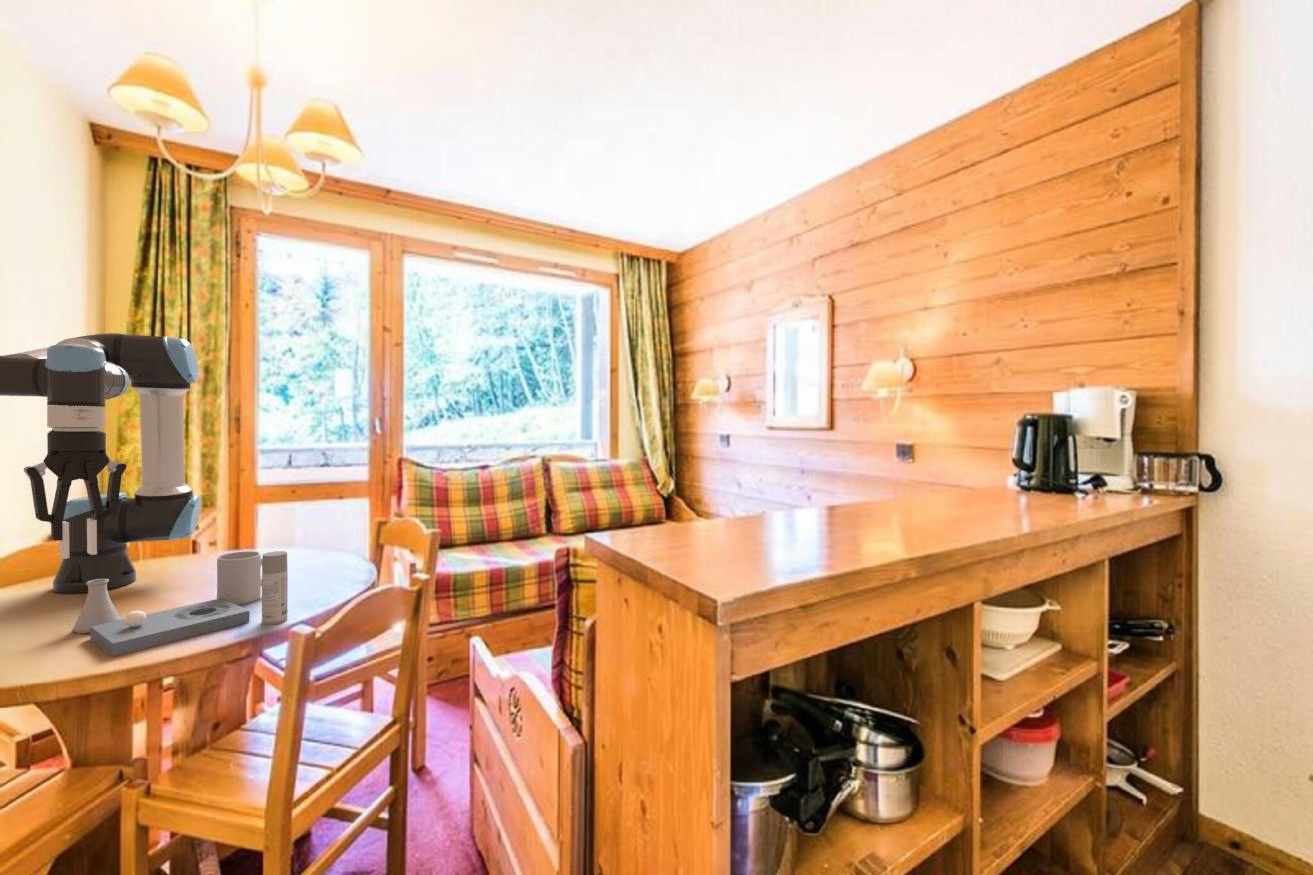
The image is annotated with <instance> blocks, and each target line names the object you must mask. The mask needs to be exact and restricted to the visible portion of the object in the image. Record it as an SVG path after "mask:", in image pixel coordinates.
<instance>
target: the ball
mask: <svg viewBox="0 0 1313 875" xmlns="http://www.w3.org/2000/svg"><path fill="white" fill-rule="evenodd" d="M146 614H147V613H145V612H144V611H143V610H132V611H130V612H129V613H128V614H127V615H126V616H125V618H124V619H125V624H126V625H127V626H129V627H138V626H141V625H142V624H143V623H144V622H145V621H146Z"/></svg>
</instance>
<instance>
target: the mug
mask: <svg viewBox="0 0 1313 875" xmlns="http://www.w3.org/2000/svg"><path fill="white" fill-rule="evenodd" d="M262 561H263V557H261V553H260V552H258V551H250V550H249V551H234V552H230V553H229V552H228V553H225V554H221V555H220V556H217V559H216V599H220V598H223V599H226V600H228V601H230V602H232V603H234V604H236V605H238V606H241V605H247V604H250V603H254V602H256V601H258V600H260V598H261V597H262V575H261V571H262Z"/></svg>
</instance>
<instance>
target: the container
mask: <svg viewBox="0 0 1313 875" xmlns="http://www.w3.org/2000/svg"><path fill="white" fill-rule="evenodd" d="M262 558H263V561H262V566H261V579H262V586H261V623H262V624H263V625H266V626H267V625H268V626H269V625H272V626H273V625H278V624H282V623H284V622H286V621H287V620H288V603H289V602H288V594H289V593H288V578H289V577H288V575H289V574H288V552H287V551H282V550H278V551H277V550H275V551H270V552H265V553H263V554H262Z"/></svg>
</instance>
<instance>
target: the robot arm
mask: <svg viewBox="0 0 1313 875" xmlns="http://www.w3.org/2000/svg"><path fill="white" fill-rule="evenodd" d="M198 380H199V365H198V360H197V356H196V353H195V351H194V348H193V346H192V345H191V343H190V342H189V341H187V340H186V339H183V338H178V337H171V336H165V335H164V336H159V335H158V336H156V335H145V334H128V333H127V334H125V333H114V332H113V333H112V332H107V333H106V332H105V333H96V334H88V335H81V336H76V337H68V338H65V339H63V340H61V341H59V342H56V344H53V345H50V346H49V347H43V348H37V349H32V350H28V351H27V350H26V351H22V352H18V353H12V354H6V355H0V396H6V397H14V396H15V397H42V398H43V397H44V398H46V401H47V402H46V405H47V408H46V426H47V427H48V428H50V429H51V430H49V431H48V432H47V436H46V438H47V439H46V440H47V443H46V444H47V454H46V456H45V458H44V459H43V462H40V463H37V464H35V465H31V466H28V465H27V466H25V467H24V468H23V471H24V473H25V474H26V476H27V477H28V478H29V481H30V488H31V493H32V500H33V507H34V514H35V519H36V520H39V521H41V522H47V523H50V533H51V534H50V538H51V540H53V541H54V542H57V541H59V557H60V558H61V559H62V560H61V561H60V565H59V567H58V570H57V572H56V574H55V576H54V579H53V581H52V591H53V592H54V593H58V594H82V593H88V585H86V582H88V581H91V580H96V579H109V582H107V590H110V589H115V588H119V587H124V586H127V585H128V584H129V585H130V584H132V583H133V582H135V581H136V580H137V571H136V568H135V567H134V564H133V562H132V559H131V558H130V556H129V553H128V551H127V550H128V544H127V543H142V542H157V541H158V542H159V541H160V542H161V541H169V542H171V541H173V540H174V541H175V540H182V539H183V540H184V539H187V538H190V537H191V536H192V535H193V534H194V533H195V531H196V529H197V525H198V523H199V519H200V515H201V508H202V502H201V501H202V500H201V497H200V496H199V495H197V494H193V487H191V486H189V485H188V484H187V483H186V478H185V477H186V472H185V470H186V468H185V467H186V466H185V428H184V426H185V422H184V421H185V420H184V417H185V416H184V395H185V394H186V393H188V392H189V391H191V384H195V383H197V382H198ZM130 385H131V389H132V390H134V391H135V392H136V393H137V394H138V395H139V417H140V418H139V420H140V447H141V449H140V450H141V479H142V480H141V483H142V484H141V486H140V487H139V488H138V489H136V490H135V491H134V497H128V495H127V493H126V492H122V491H121V482H122V476H123V474H124V472H125V471H126V469H127V468H128V466H127V464H126V463H121V462H116V461H113V460H110V457H109V456H108V454H107V451H106V450H107V448H106V447H107V444H106V443H107V440H106V438H107V437H106V436H107V434H106V432H105V431H104V430H102V429H104V428H106V400H111V399H116V398H118V397H120V396H122V395H124V394H125V393H126V392H128V389H129V387H130ZM106 467H107V471H108V472H109V475H108V481H107V482H108V483H107V488H106V493H102V494H101V492H100V488H99V479H98V475H99V474H100V473H101V472H102V471H103V470H104V469H105V468H106ZM46 469H48V470H49V471H51V472H52V473H53V474H54V475H55V476H56V477H57V479H56V488H55V494H54V499H53V502H52V503H53V504H52V507H51V508H52V509H51V514H49V510H48V502H47V494H46V489H45V488H46V487H45V483H44V478H43V476H45V475H46ZM76 480H83V482H84V485H85V489H86V493H87V494H86V495H87V496H83V497H77V498H73V499H69V500H68V498H69V494H70V487H71V486H72V482H73V481H76ZM120 491H121V492H120Z"/></svg>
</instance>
